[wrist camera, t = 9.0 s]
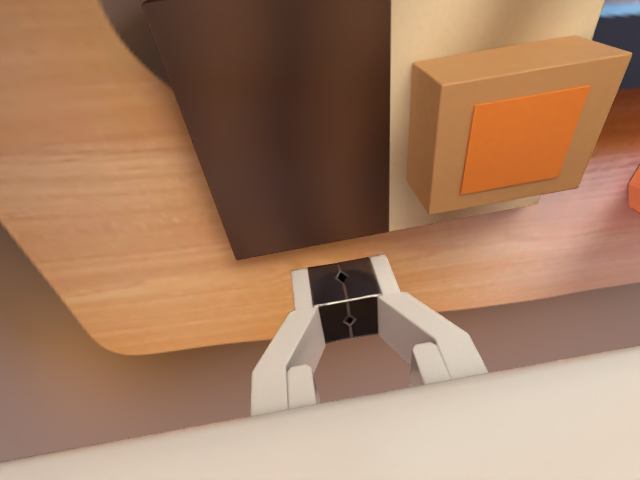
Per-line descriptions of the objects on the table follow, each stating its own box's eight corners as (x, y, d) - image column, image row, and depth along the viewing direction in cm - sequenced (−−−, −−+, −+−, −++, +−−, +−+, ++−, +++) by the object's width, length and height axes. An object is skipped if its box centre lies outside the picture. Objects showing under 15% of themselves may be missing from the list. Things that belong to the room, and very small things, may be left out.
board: (608, -75, 16) (630, -76, 15) (527, 194, 25) (538, 204, 24) (146, -1, 15) (140, 3, 14) (236, 248, 24) (235, 261, 23)
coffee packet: (575, 34, 17) (636, 53, 15) (537, 157, 22) (579, 189, 19) (411, 61, 17) (442, 85, 14) (406, 181, 21) (429, 217, 19)
